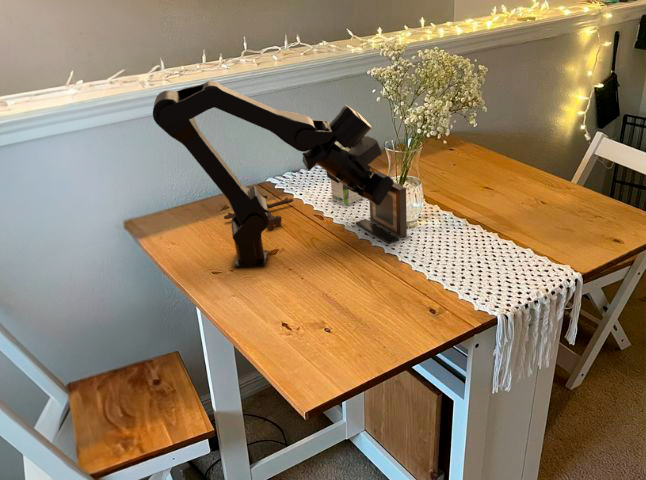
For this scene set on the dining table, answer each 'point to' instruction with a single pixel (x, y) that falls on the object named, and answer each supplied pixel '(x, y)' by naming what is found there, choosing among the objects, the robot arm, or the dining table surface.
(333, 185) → the syrup box
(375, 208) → the picture frame
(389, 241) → the frame stand
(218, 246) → the dining table surface
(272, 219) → the brown spindly part
